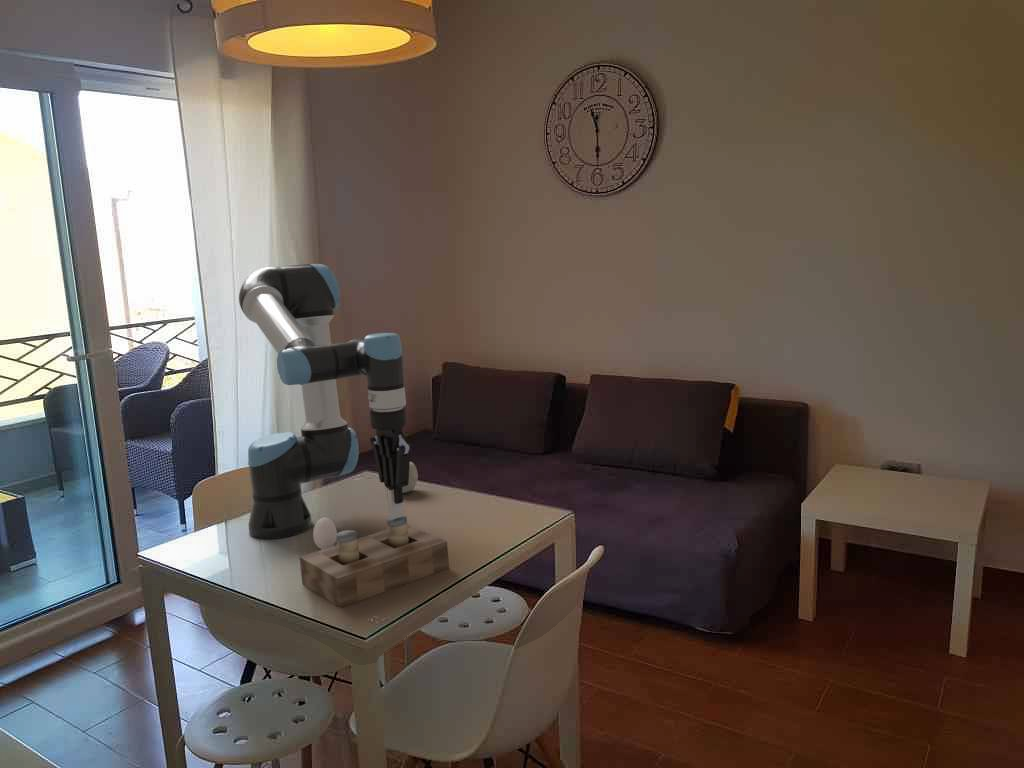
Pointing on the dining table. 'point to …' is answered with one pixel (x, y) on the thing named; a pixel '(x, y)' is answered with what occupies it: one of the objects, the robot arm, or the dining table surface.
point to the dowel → (347, 547)
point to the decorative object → (411, 479)
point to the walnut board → (373, 566)
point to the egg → (324, 533)
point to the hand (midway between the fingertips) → (396, 516)
